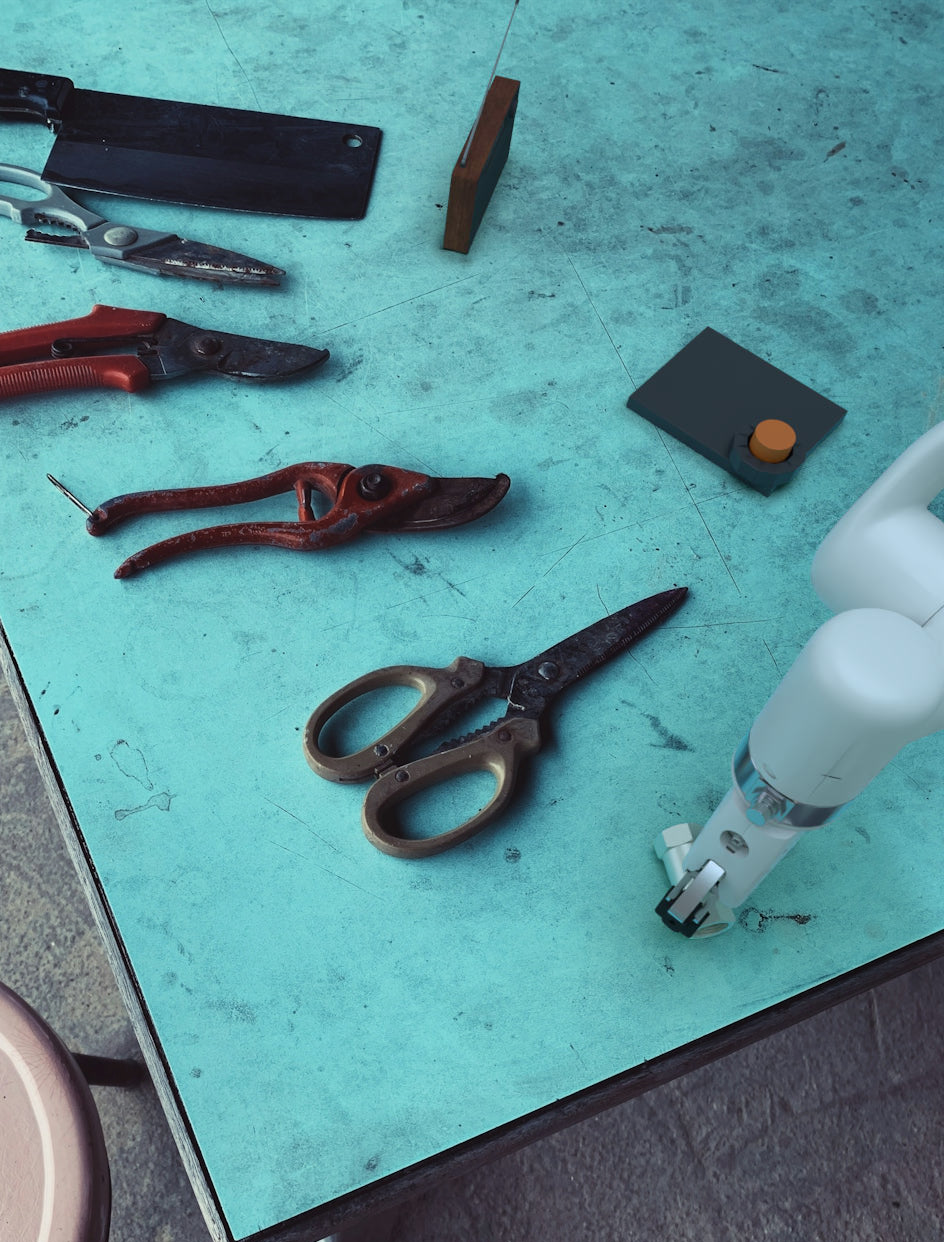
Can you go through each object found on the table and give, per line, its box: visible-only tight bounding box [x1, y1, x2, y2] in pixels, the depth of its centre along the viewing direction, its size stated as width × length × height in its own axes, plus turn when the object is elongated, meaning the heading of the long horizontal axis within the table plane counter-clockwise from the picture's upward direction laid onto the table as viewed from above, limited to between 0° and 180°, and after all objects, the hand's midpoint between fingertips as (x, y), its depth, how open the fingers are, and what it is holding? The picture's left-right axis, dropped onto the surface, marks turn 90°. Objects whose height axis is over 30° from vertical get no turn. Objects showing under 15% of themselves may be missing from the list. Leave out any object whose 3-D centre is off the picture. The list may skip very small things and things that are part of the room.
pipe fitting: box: [652, 822, 737, 940], centre depth 90 cm, size 8×4×7 cm
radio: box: [442, 0, 522, 254], centre depth 120 cm, size 19×3×15 cm, turn 162°
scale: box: [625, 325, 849, 498], centre depth 112 cm, size 17×14×3 cm
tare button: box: [749, 420, 796, 463], centre depth 107 cm, size 4×4×2 cm
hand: (710, 878), depth 89 cm, fingers closed on pipe fitting, 9 cm apart
